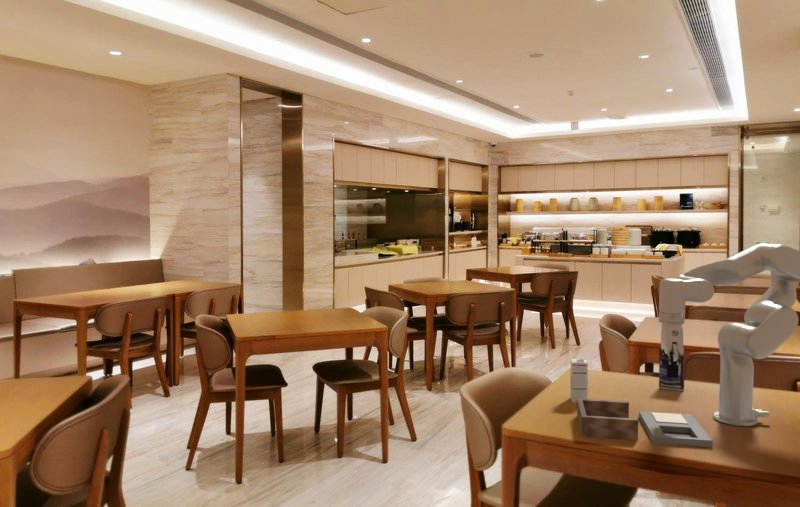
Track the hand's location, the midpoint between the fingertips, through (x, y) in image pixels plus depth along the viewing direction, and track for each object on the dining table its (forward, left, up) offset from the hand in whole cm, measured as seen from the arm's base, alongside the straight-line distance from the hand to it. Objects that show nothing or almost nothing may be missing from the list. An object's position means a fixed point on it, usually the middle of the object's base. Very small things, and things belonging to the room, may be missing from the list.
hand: (669, 373), depth 195 cm
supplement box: (-10, -44, -17) cm, 48 cm away
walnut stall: (+20, +7, -16) cm, 27 cm away
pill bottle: (0, 0, -3) cm, 3 cm away
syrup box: (+26, -21, -17) cm, 37 cm away
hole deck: (0, +6, -16) cm, 17 cm away
